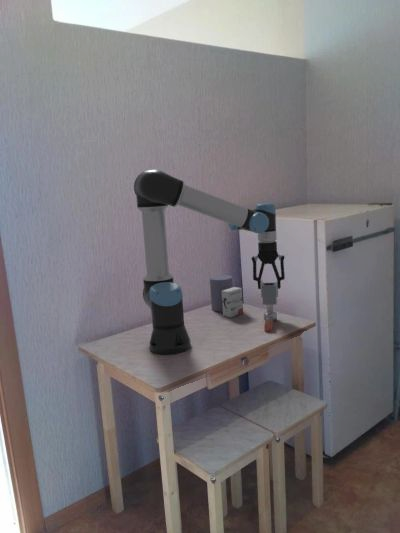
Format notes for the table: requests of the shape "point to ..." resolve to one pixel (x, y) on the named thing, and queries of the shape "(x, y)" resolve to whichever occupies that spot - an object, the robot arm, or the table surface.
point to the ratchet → (269, 318)
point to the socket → (269, 293)
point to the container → (219, 290)
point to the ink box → (232, 301)
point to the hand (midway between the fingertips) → (269, 296)
